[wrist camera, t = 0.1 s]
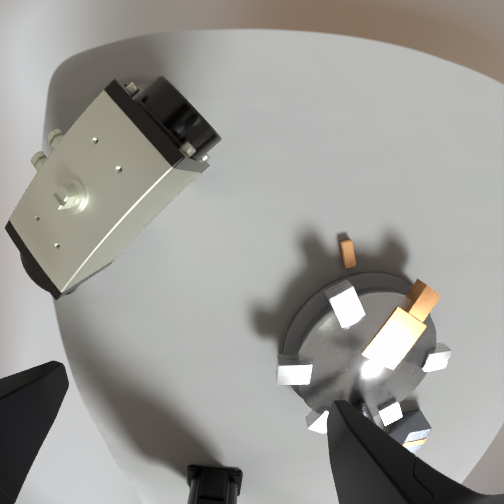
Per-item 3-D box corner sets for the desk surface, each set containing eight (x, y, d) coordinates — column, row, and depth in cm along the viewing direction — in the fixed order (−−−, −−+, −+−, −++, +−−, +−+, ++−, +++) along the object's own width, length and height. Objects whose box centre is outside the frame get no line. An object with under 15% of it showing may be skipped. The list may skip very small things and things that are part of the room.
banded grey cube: (407, 432, 27) (417, 452, 24) (386, 436, 27) (395, 456, 24) (419, 409, 26) (432, 429, 23) (398, 412, 26) (410, 433, 23)
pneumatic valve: (234, 155, 20) (211, 123, 9) (125, 260, 22) (32, 326, 11) (185, 103, 20) (119, 32, 8) (83, 209, 21) (-27, 238, 10)
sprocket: (409, 408, 24) (436, 453, 18) (265, 414, 24) (267, 474, 17) (456, 278, 21) (507, 308, 14) (288, 264, 21) (304, 304, 14)
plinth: (400, 399, 26) (403, 404, 25) (273, 403, 25) (273, 410, 24) (447, 251, 22) (453, 253, 21) (299, 233, 22) (301, 236, 21)
